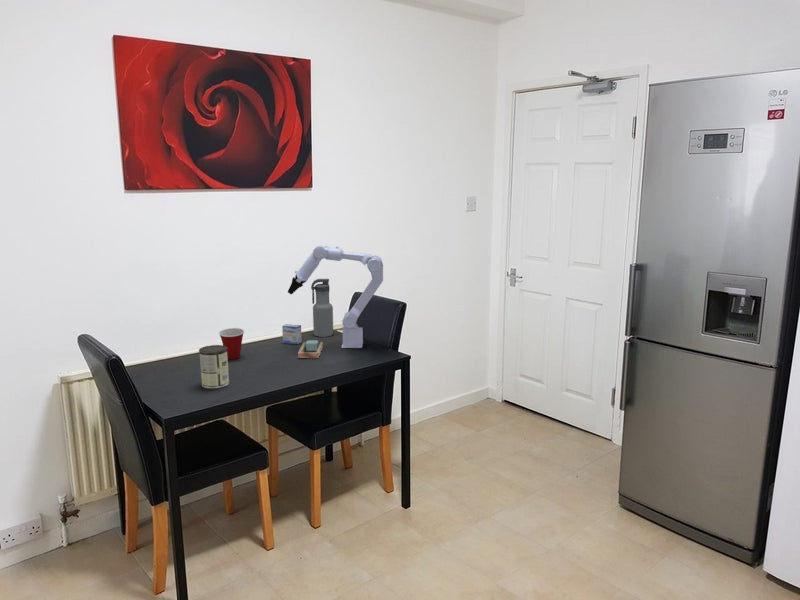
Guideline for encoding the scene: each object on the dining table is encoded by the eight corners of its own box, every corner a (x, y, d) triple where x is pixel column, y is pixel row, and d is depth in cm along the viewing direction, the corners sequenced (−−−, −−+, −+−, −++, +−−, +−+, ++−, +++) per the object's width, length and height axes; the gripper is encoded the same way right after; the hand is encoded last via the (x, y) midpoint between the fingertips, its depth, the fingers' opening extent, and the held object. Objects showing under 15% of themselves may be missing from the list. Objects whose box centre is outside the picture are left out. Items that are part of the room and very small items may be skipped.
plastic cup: (217, 361, 267) (215, 334, 265) (223, 354, 278) (221, 328, 275) (242, 361, 267) (241, 334, 265) (248, 354, 278) (246, 327, 276)
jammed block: (318, 347, 287) (318, 340, 286) (317, 350, 282) (316, 343, 282) (307, 347, 287) (307, 340, 286) (306, 350, 282) (305, 343, 282)
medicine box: (282, 343, 295) (281, 325, 294) (286, 341, 300) (286, 323, 298) (297, 344, 293) (297, 326, 291) (301, 342, 297) (301, 324, 296)
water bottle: (312, 337, 306) (310, 281, 301) (313, 332, 316) (311, 277, 310) (333, 337, 307) (331, 280, 301) (333, 332, 316) (332, 277, 311)
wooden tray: (323, 347, 289) (323, 342, 288) (318, 358, 271) (318, 353, 271) (303, 347, 289) (303, 342, 288) (297, 358, 271) (297, 353, 270)
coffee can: (205, 379, 243) (203, 344, 240) (232, 379, 243) (230, 344, 241) (197, 388, 233) (195, 352, 230) (225, 388, 233) (223, 352, 231)
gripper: (303, 260, 290) (286, 283, 292) (298, 265, 276) (280, 289, 278) (315, 269, 291) (298, 292, 293) (311, 274, 277) (293, 298, 279)
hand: (290, 291), depth 286 cm, fingers open, 7 cm apart
